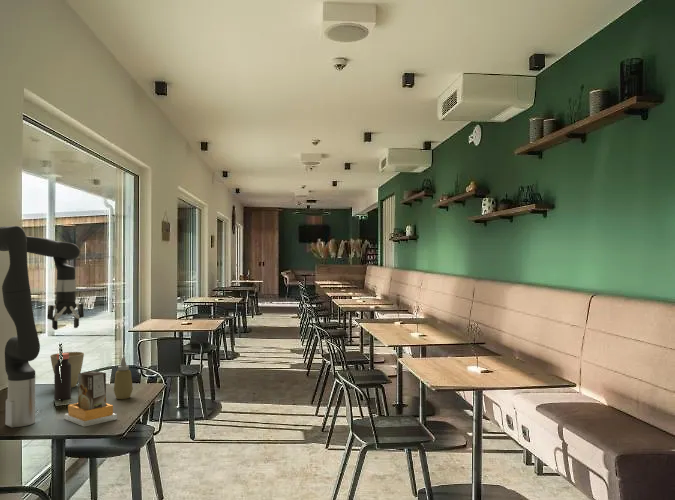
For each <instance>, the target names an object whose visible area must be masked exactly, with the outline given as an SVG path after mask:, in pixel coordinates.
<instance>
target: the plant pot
mask: <svg viewBox="0 0 675 500" xmlns="http://www.w3.org/2000/svg"><path fill="white" fill-rule="evenodd" d="M59 353H60V352H57V353H53V354H51V355H50V362H51V363H50V364H51V366H52V371H53V372H54V367H55V365H56V364H57V362H58V360H57V354H59ZM63 353H69V360H68V362H69V363H70V364H71V389H72V388H75V387H76V386H77V385H78V374H79V373H82V372H81V371H82V369H83V368H82V367H83V363H84V357H85V353H84V352H82V351H68V352H63Z"/></svg>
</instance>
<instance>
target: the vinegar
mask: <svg viewBox="0 0 675 500" xmlns="http://www.w3.org/2000/svg"><path fill="white" fill-rule="evenodd" d="M61 353H62V355H63V361H62V366H61V379H62V383H61V380H60V374H59V366H60V361H59V354H57V353H56V354H57V360H58V362H57V364H56V365H55V367H54V371H53V375H54V377H53V379H54V382H53V383H54V384H53V386H54V387H53V388H54V389H53V390H54V396H53V397H54V400H55V399H56V401H60V400H59V399H63V400H62V401H64V400H69V399H71V398H72V388H71V364H70V363H69V362H68V360H69V353H64V352H61Z"/></svg>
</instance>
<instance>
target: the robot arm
mask: <svg viewBox="0 0 675 500" xmlns="http://www.w3.org/2000/svg"><path fill="white" fill-rule="evenodd" d="M0 252H8V254H9V266H8V270H7V272H6V275H5V277H4V279H3V282H2V286H1V292H2V299H3V305H4V307H5V309H6V312H7V314H8V315H9V316H10V318H11V319H12V321H13V323H14V326H15V329H16V335H14V336H12V337H10V338H9V339H8V340H7V342H6V343H5V347H4V367H5V368H4V369H5V373H6V376H7V398H6V399H5V422H4V423H5V426H7V427H9V428H19V427H25V426H26V427H27V426H31V425H33V424H35V423H36V369H34V368H33V367H32V366H31V365H30V362H31V361H34V360H36V359H37V357H38V356H39V353H40V352H41V351H40V349H41V344H40V339H39V335H38V331H37V328H36V322H35V317H34V310H33V309H34V308H33V302H32V291H31V286H30V285H31V284H30V278H29V268H28V254H29V253H30V254H35V255H38V256H43V257H48V258H53V261H54V265H55V267H56V268H55V269H56V283H55V284H56V285H55V305H54V304H48V305H47V320H49V321H52V322H51V324H52V326H51V327H52V329H53V330H54V331H56V330H58V324H59V323H58V320H59V318H60V317H61V316H64V315H71V316H72V317H73V328H74V329H78V327H79V326H80V319H81V318H83V317H84V315H85V313H84V311H85V310H84V303H81V302H79V303H78V302H77V303H76V301H77V299H76V297H77V291H76V290H77V284H76V268H75V266H72V265H69V264H68V261H72V260H73V261H74V260H76V259H77V258H78V257H79V256H80V254H81V253H80V252H81V249H80V248H79V246H78V245H77V244H75V243H72V242H67V241H57V240H54V239H50V238H46V237H41V236H40V237H39V236H30V235H29V236H28V235H26V232H25V230H24V228H22V227H21V226H19V225H10V226H9V225H8V226H7V225H6V226H0ZM76 308H77V311H76V310H75V309H76ZM55 310H56V311H55ZM54 311H55V313H54Z"/></svg>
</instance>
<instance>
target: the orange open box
mask: <svg viewBox="0 0 675 500" xmlns="http://www.w3.org/2000/svg"><path fill="white" fill-rule="evenodd" d="M67 411H68V412H67V413H64V418H63V419H64V420H66V421H69V422H70V423H73V424H76V425H79V426H81V427H83V428H85V427H89V426H93V425H98V424H102V423H106V422H111V421H115V420H118V419H117V418H118V416H117V413H114V405H113V404H110V403H107V402H106V406H104V407H99V408H94V409H89V410H85V409H82V408H79V407H78V402H77V403H76V402H75V403H72V404H71V403H70V404H68V406H67Z"/></svg>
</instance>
